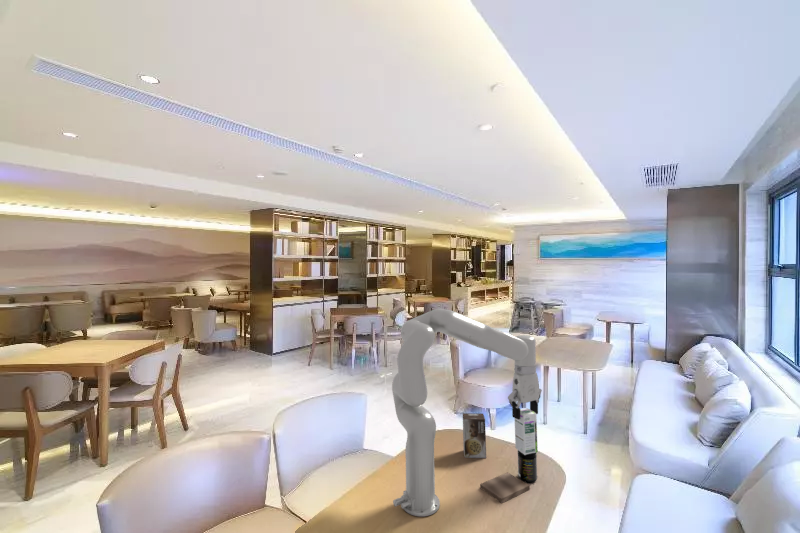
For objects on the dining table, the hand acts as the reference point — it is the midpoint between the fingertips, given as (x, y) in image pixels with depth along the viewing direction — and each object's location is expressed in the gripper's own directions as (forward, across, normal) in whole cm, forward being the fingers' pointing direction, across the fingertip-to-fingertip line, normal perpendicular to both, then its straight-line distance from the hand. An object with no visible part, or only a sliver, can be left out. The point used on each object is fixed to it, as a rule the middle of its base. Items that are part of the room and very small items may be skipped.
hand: (525, 415), depth 134 cm
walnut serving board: (+24, -11, 0) cm, 26 cm away
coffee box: (+24, -3, +24) cm, 34 cm away
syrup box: (+13, 0, 0) cm, 13 cm away
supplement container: (+24, +1, 0) cm, 24 cm away
